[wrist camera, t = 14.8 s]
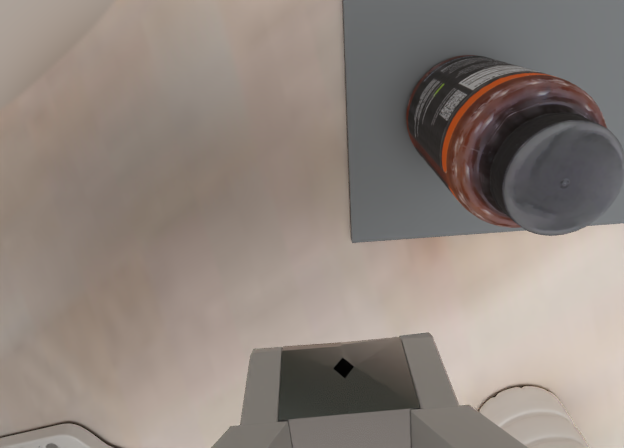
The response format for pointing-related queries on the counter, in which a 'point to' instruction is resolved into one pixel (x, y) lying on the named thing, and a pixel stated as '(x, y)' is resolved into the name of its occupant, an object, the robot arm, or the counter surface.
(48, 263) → the counter surface
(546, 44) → the mat
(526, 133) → the supplement bottle
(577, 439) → the water bottle
